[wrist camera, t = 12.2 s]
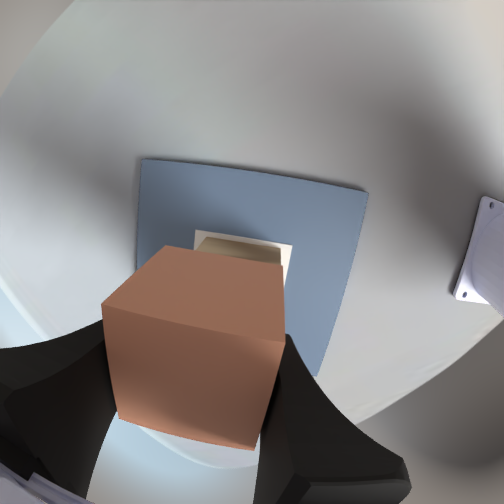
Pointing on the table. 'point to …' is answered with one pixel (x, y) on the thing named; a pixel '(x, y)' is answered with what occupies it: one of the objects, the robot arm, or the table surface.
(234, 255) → the oak block
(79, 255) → the table surface
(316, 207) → the board
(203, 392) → the terracotta block
